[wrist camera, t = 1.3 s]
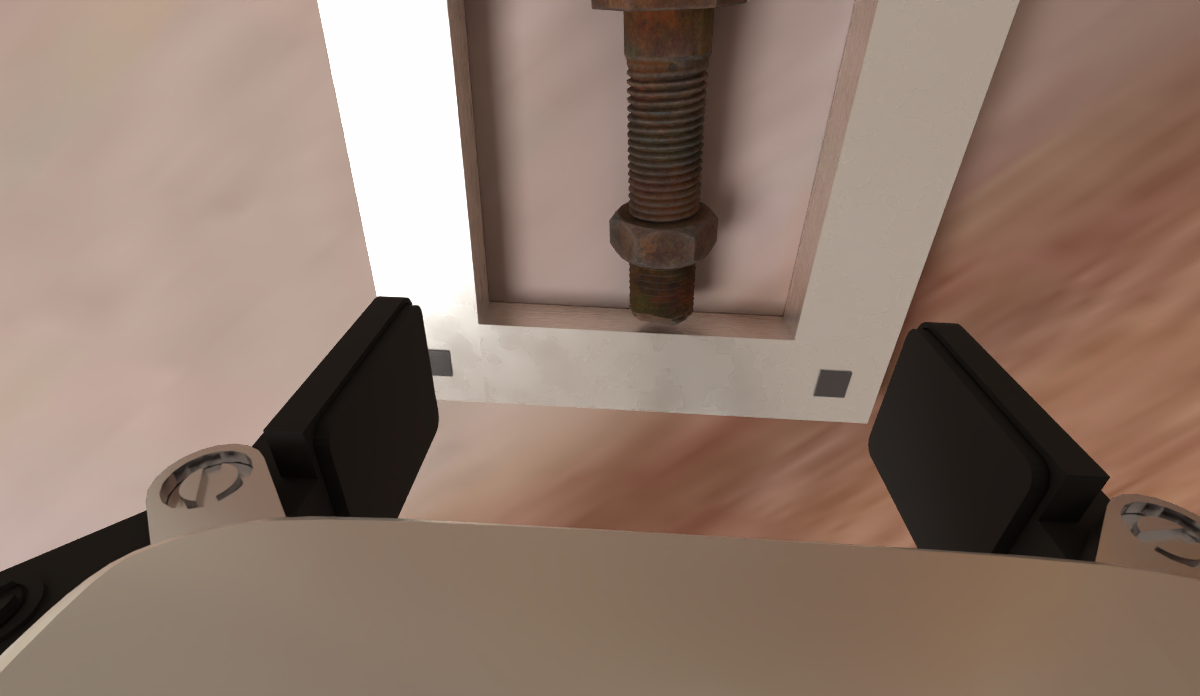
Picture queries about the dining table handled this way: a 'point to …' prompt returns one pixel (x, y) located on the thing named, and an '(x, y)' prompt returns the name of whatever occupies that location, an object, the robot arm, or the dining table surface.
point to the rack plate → (705, 340)
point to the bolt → (665, 153)
